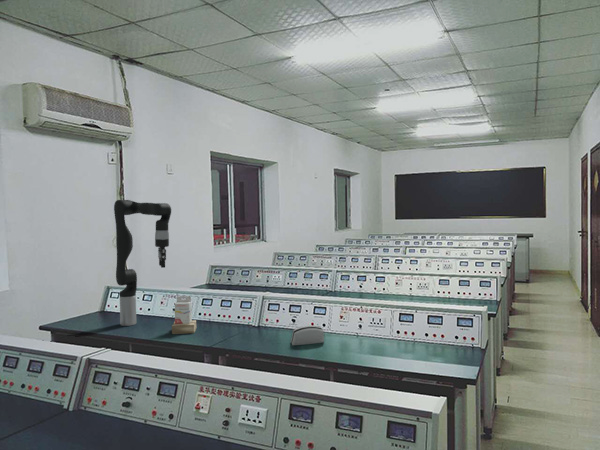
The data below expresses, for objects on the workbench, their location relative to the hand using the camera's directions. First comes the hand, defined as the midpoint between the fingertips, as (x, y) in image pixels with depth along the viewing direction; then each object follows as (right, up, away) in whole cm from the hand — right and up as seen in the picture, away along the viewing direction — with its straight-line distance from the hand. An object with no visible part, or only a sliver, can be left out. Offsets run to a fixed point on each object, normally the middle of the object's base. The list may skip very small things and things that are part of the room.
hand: (162, 266), depth 277 cm
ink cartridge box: (+13, -32, -3) cm, 34 cm away
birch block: (+14, -37, -3) cm, 39 cm away
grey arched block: (+83, -36, -35) cm, 97 cm away
